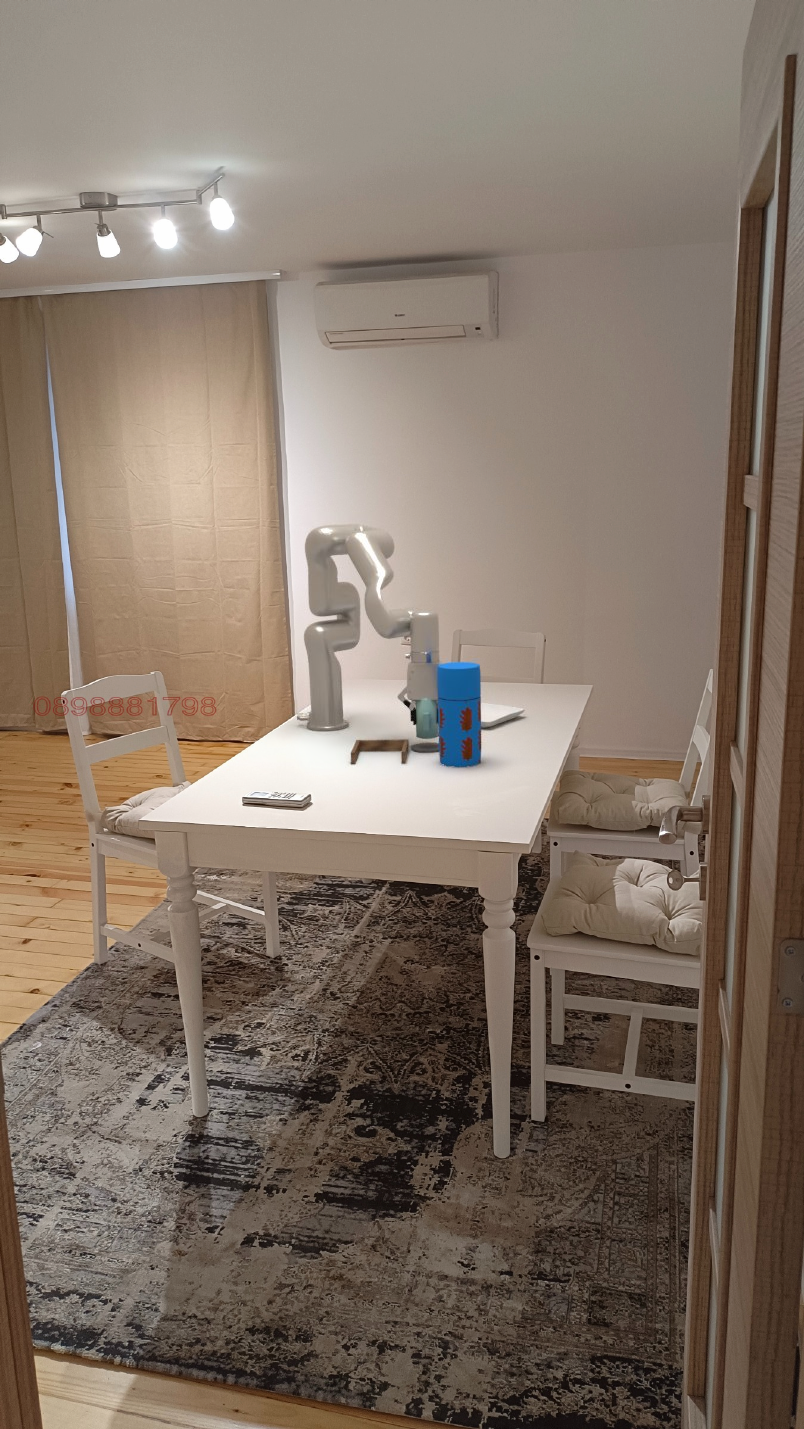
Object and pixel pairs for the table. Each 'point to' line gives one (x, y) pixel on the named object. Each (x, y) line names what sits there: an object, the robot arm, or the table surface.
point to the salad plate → (497, 714)
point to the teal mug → (426, 719)
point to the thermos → (459, 713)
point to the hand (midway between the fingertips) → (427, 723)
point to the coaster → (425, 747)
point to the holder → (380, 747)
